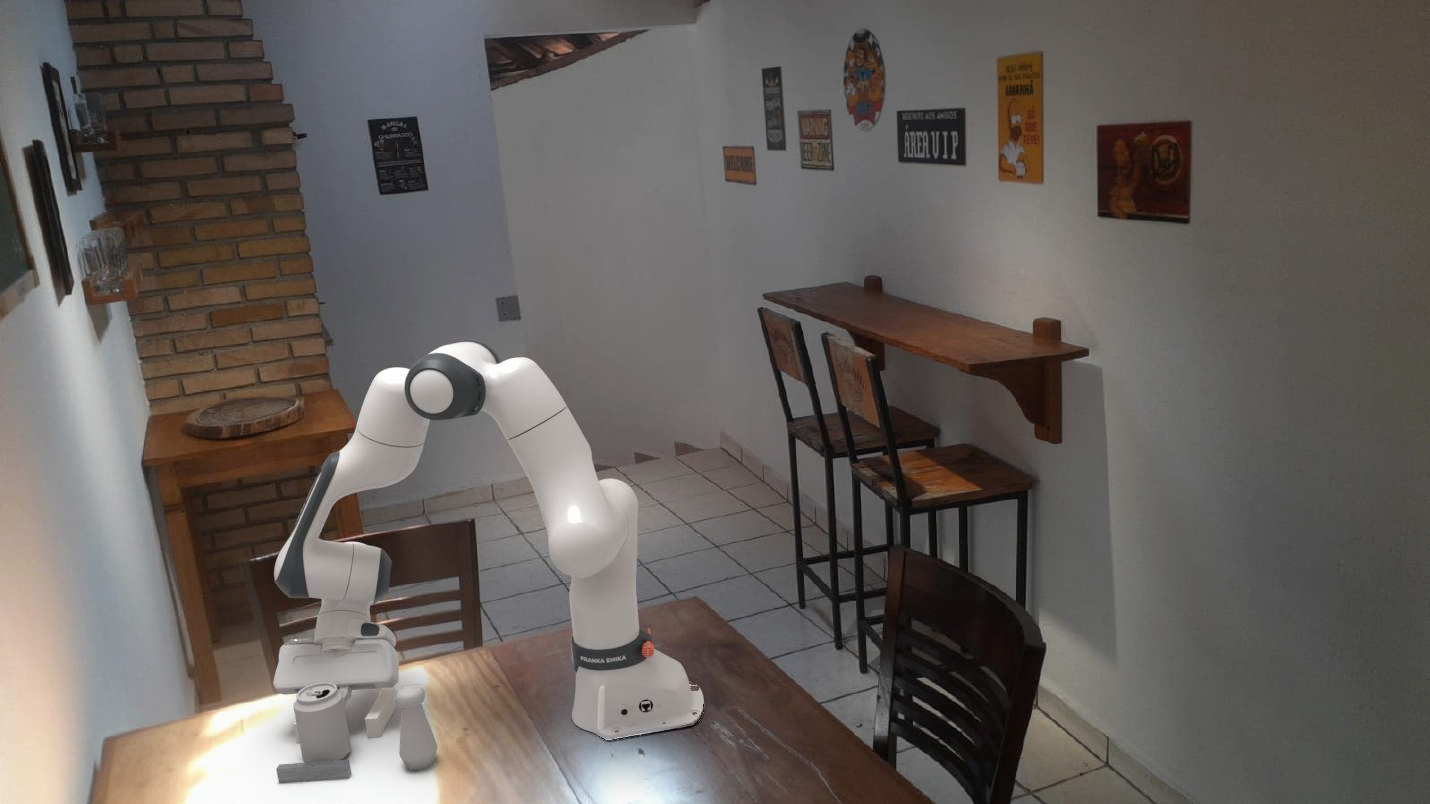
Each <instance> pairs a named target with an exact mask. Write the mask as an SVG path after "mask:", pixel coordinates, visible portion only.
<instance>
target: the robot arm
mask: <svg viewBox="0 0 1430 804" xmlns="http://www.w3.org/2000/svg"><path fill="white" fill-rule="evenodd" d="M481 411H482V412H484V413H487V414H488V415H489V416H491V418H493V420H494V421H495V422H496V424H497V426H498V428H499V429H500V431H501V433H502V434H503V436H504V438H505V440H506V441H507V443H508V445H509V447H510V449H511V450H512V451H513V454H514V455H515V458H516V459H517V461H518V462H519V464H520V466H521V468H522V469H523V471H524V473H525V475H526V477H527V479H528V481H529V483H530V485H531V488H532V489H533V493H534V495H535V498H536V502H537V504H538V507H539V510H540V511H539V512H541V517H542V520H543V522H544V526H545V528H546V533H547V538H548V539H547V541H548V552H549V556H550V558H551V562H552V563H553V565H555V567H556V568H557V569H558V570H559V571H560V572H562V573H563V574H565V575H567V576H570V577H571V582H570V587H569V594H568V595H569V596H568V599H569V607H570V609H569V610H570V617H571V618H570V619H571V626H572V627H571V628H572V637H571V641H570V651H571V662H572V666H573V671H574V672H575V691H574V692H575V693H574V699H573V700H574V701H573V707H572V712H571V719H572V721H573V723H574V724H575V725H576V726H577V727H578V728H580V729H582V730H584V731H588V732H590V733H593V734H596V735H597V736H598V737H599V736H600V737H599V738H601V737H602V738H604V739H614V738H617V737H625V736H628V735H634V734H639V733H644V732H648V731H653V730H658V729H661V728H670V727H676V726H681V725H686V724H690V723H693V722H694V721H695V720H697V719H698V718H699V716H700V715H701V712H702V711H703V704H704V705H705V700H704V699H705V697H704V694H703V691H702V689H701V687H699V690H698V691H691V689H690V688H691V687H690V686H698V685H697V684H696V685H691V684H689V682H690V681H689V678H688V675H687V673H686V670H685V668H684V666H683V665H682V664H681V662H679V660H678V661H677V660H676V659H674V658H672V657H670V656H668V655H666V653H665V654H664V653H662V652H660V651H659V650H657V649H655V645H654V640H653V635H652V634H651V633H652V631H651V628H650V627H648V628H647V631H646V630H644V629H643V628H641V627H640V623H639V610H638V598H637V569H638V568H637V567H638V566H637V565H638V519H639V518H638V517H639V516H638V515H639V501H638V497H637V495H636V493H635V491H634V490H633V488H631V486H629V484H627V483H626V482H624V481H622V480H619V479H617V478H604V479H598V476H597V472H596V469H595V465H594V461H593V454H592V453H593V452H592V449H591V446H590V443H589V442H588V440H587V439H586V437H585V436H584V433H583V432H582V429H581V428H580V426H579V424H578V423H577V421H576V419H575V417H574V415H573V414H572V412H571V410H570V409H569V407H568V405H567V403H566V402H565V400H564V398H563V397H562V395H561V394H560V392H559V391H558V389H557V387H556V386H555V385H554V383H553V382H552V381H551V379H550V378H549V377H548V376H547V374H546V372H544V370H543V369H542V367H540V366H539V365H538V364H537V363H536V362H535V361H534V360H532V359H530V358H528V357H524V356H522V357H520V356H519V357H513V358H508V359H506V360H503V361H502V360H501V358H500V356H499V353H497V351H496V350H495V349H494V348H493V347H492V346H491V345H489V344H488V343H486V342H483V341H481V340H477V339H460V340H458V341H455V342H453V343H451V344H445V345H442V346H439V347H438V348H436V349H434V350H432V351H430V352H429V353H428V354H426V355H424V356H421V357H420V358H418V360H417V361H415V363H413V364H412V366H411V367H410V368H406V367H398V366H397V367H388V368H385V369H383V370H381V371H379V372H378V373H377V374H376V375H375V376H374V378H373V380H372V382H371V384H370V386H369V388H368V390H367V392H366V395H365V397H364V400H363V403H362V405H361V409H360V412H359V414H358V415H359V416H358V417H357V418H358V419H357V423H356V427H355V429H354V433H353V435H352V437H351V438H350V439H349V441H348V442H347V444H346V445H345V446H344V447H342V448H341V449H340V450H337V451H335V452H331V453H330V454H329V455H328V456H327V458H326V459H325V460H324V462H323V464H322V466H321V467H320V469H319V471H318V473H317V475H316V477H315V479H314V481H313V483H312V486H311V487H310V489H309V492H308V494H307V496H306V499H305V501H304V504H303V505H302V508H301V510H300V511H299V514H298V517H297V519H296V521H295V524H294V525H293V527H292V530H291V532H290V533H289V536H288V537H287V540H286V542H285V543H284V545H283V547H282V548H281V549H280V551H279V554H278V556H277V558H276V561H275V564H274V571H273V577H274V579H273V580H274V583H275V584H276V585H275V586H277V587H278V588H279V589H280V591H282V593H283V594H284V595H286V596H287V597H288V598H290V599H310V598H312V599H321V607H320V609H319V611H318V614H317V616H316V617H317V618H316V623H315V631H314V637H305V638H291V639H289V641H286V642H285V643H284V644H282V645H281V646H280V647H279V653H278V664H277V667H276V670H275V673H274V678H273V686H274V688H275V689H276V691H277V692H279V693H280V694H282V695H297V693H298V692H299V691H300V690H301V689H303V688H304V687H306V686H309V685H311V684H315V683H320V682H331V683H333V684H335V685H336V686H337V689H338V690H340V691H341V692H342V694H343V700H344V707H345V706H346V704H348V702H349V700H350V699H351V697H352V694H353V691H358V690H375V689H377V690H378V689H388V688H389V689H390V688H391V689H393V688H394V687H395V685H396V684H397V683H398V682H399V678H400V677H399V676H400V675H399V674H400V659H399V654H398V651H397V650H396V649H395V646H396V644H397V637H396V636H395V634H394V633H393V632H392V630H391V629H390V628H388V627H387V626H386V625H385V624H381V623H377V622H373V621H371V619H372V618H371V612H370V607H371V605H375V604H376V603H378V602H379V601H380V600H382V599H384V597H386V596H387V595H388V594H389V591H390V580H391V579H390V578H391V570H392V569H391V568H392V565H393V564H392V563H393V561H392V560H391V558H390V556H389V555H388V554H387V552H386V551H385V550H384V549H383V548H380V547H378V546H374V545H368V544H365V543H363V542H358V541H345V542H339V541H331V540H324V539H321V538H319V536H320V534H321V532H322V530H323V527H324V525H325V523H326V521H327V519H328V518H329V517H328V516H329V515H330V512H331V510H332V509H333V506H334V505H335V503H336V502H338V501H339V500H341V499H342V498H344V497H347V496H349V495H351V494H355V493H359V492H363V491H368V490H374V489H381V488H382V489H383V488H385V487H389V486H392V485H394V484H398V483H400V482H401V481H402V480H405V479H406V478H407V477H408V476H410V474H412V473H413V472H414V470H415V469H416V467H417V465H418V463H419V460H420V459H421V455H422V452H423V449H424V445H425V441H426V438H427V433H428V429H429V425H430V422H431V421H436V422H437V421H438V422H439V421H441V422H442V421H451V420H456V419H461V418H466V417H473V416H477V415H479V413H480V412H481ZM694 712H696V713H697V714H695V715H693V714H692V713H694ZM602 738H601V739H602ZM604 739H603V740H604Z"/></svg>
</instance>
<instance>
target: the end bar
mask: <svg viewBox="0 0 1430 804" xmlns="http://www.w3.org/2000/svg"><path fill="white" fill-rule="evenodd" d="M276 774H277V780H278V784H283V783H298V782H299V783H300V782H311V781H325V780H327V781H328V780H341V779H350V777H351V775H352V769H351V763H350V759H343V760H336V761H321V762H307V763H305V762H297V763H296V762H295V763H294V762H293V763H281V764H280V763H279V764H278V766H277V767H276Z"/></svg>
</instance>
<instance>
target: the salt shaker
mask: <svg viewBox="0 0 1430 804" xmlns="http://www.w3.org/2000/svg"><path fill="white" fill-rule="evenodd" d="M395 697H396V698H395V702H396V705H398V706H399V708H400V709H401V710H400V711H401V712H400V713H401V714H400V728H399V729H400V733H399V751H398V752H399V753H398V754H399V757H400V759H401V760H402V762H403V763H404V765H405V766H406V768H408V769H410V770H411V771H421V770H426V769H427V768H429V767H430V766H432V765H433V764H434V761H435V759H436V755H437V751H438V744H437V742H436V738H435V736H434V733H433V730H432V728H431V725H430V722H429V719H428V716H427V715H426V713H425V709H424V706H423V703H424V702H425V698H426V693H425V690H424V688H423V687H422V686H421V685H418V684H410V685H406V686H403V687H402V688H400V689H399V690H398V692H397V693H396V695H395Z"/></svg>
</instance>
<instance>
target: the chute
mask: <svg viewBox="0 0 1430 804" xmlns="http://www.w3.org/2000/svg"><path fill="white" fill-rule="evenodd" d="M395 697H396V696H395V691H394V688H391V689H390V688H389V689H388V688H386V689H381V691H380V693H379V694H378V696H377V698H376V699H375V700H374V703H373V705H372V707H371V708H370V710H369V711H368V713H367V715H366V717H365V719H364V721H365V725H366V726H365V728H366V735H367V738H368V739H373V738H375V739H376V738H381V736H382V734H383V732H385V728H386V727H387V725H388V723H389V721H390V719H391V717H392V715H393V713H394V712H395V710H396V708H397V702H396V698H395ZM292 725H293V731H294V738H295V743H296V744H300V741H299V735H298V730H297V724H296V720H295V721H294V722H293V724H292Z"/></svg>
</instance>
